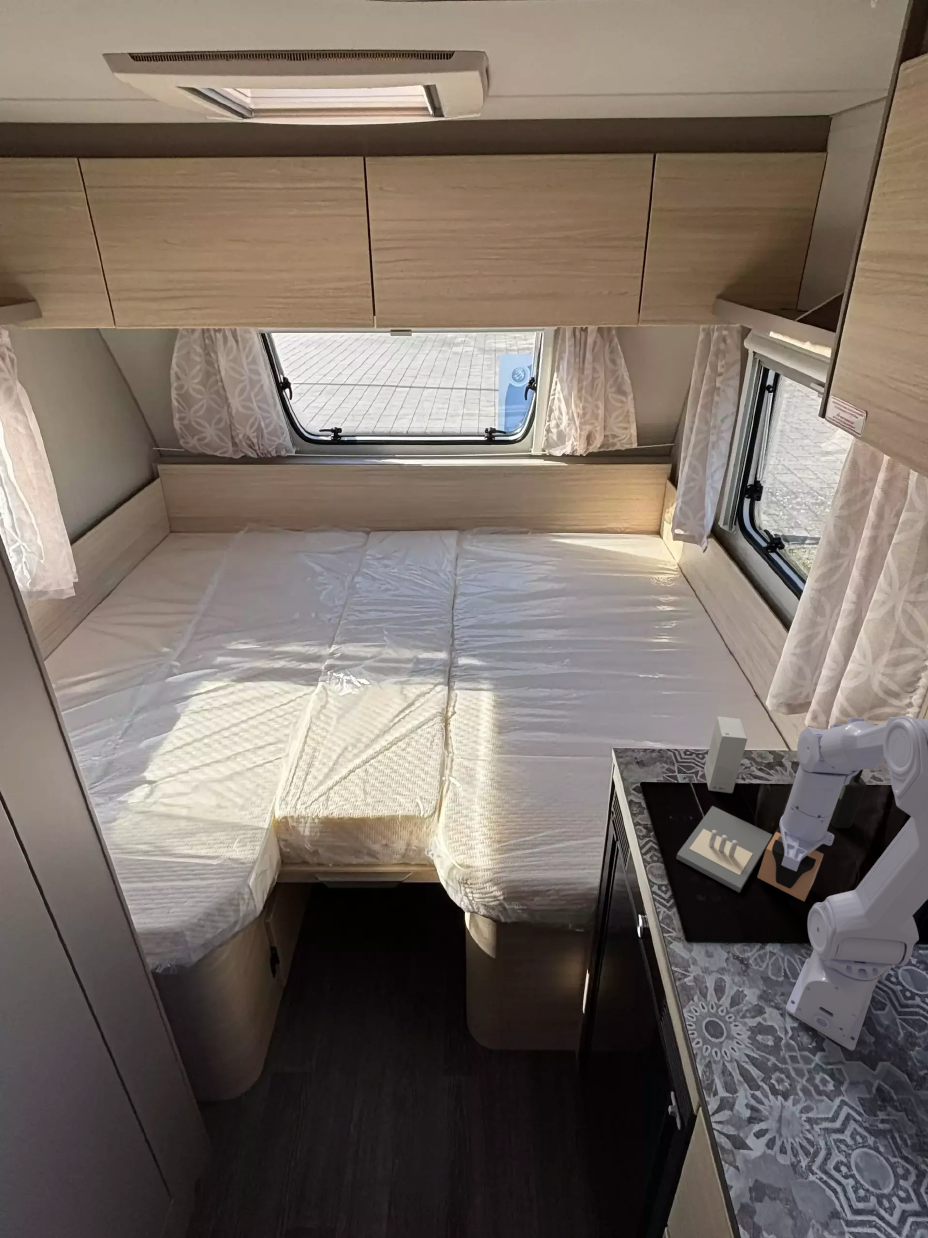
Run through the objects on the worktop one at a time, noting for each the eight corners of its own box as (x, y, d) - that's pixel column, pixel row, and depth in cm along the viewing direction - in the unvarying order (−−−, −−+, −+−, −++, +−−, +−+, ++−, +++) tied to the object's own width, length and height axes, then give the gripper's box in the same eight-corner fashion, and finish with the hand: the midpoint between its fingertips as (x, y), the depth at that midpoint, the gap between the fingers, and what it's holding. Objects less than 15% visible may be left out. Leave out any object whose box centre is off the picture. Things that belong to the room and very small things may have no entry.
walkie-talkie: (819, 809, 120) (844, 739, 113) (838, 809, 120) (864, 739, 113) (834, 830, 116) (861, 758, 109) (854, 829, 116) (882, 758, 109)
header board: (739, 892, 104) (745, 873, 102) (676, 858, 109) (680, 839, 107) (770, 839, 113) (776, 820, 111) (711, 810, 119) (716, 791, 117)
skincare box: (733, 794, 123) (748, 739, 117) (708, 791, 123) (721, 736, 118) (727, 771, 128) (741, 718, 122) (703, 768, 128) (716, 715, 123)
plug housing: (804, 902, 102) (815, 871, 99) (757, 877, 105) (766, 847, 102) (813, 883, 105) (824, 853, 102) (767, 860, 108) (776, 831, 106)
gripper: (833, 848, 91) (806, 919, 97) (851, 786, 101) (825, 854, 108) (776, 824, 94) (753, 895, 100) (799, 767, 105) (777, 834, 111)
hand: (787, 872), depth 104 cm, fingers closed on plug housing, 5 cm apart
